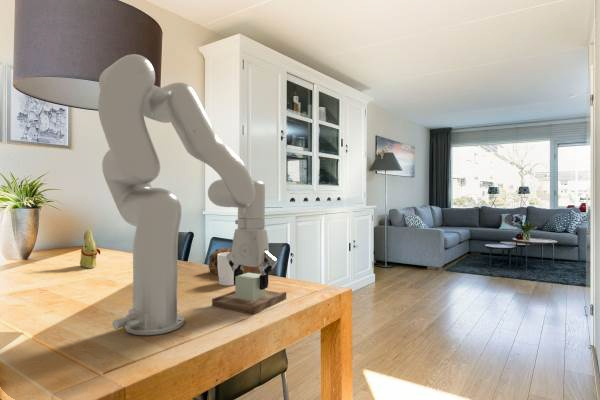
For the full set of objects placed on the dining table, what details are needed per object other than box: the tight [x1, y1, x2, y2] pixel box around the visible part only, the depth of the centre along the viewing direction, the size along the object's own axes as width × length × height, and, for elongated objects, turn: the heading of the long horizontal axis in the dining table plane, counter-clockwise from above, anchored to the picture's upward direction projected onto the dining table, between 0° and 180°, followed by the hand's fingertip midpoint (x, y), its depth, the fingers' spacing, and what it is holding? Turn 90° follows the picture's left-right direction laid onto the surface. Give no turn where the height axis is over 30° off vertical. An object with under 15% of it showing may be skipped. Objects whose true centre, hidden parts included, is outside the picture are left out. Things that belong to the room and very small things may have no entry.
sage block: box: [234, 273, 266, 301], centre depth 104 cm, size 6×6×6 cm
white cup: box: [217, 252, 235, 287], centre depth 126 cm, size 8×8×10 cm
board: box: [211, 289, 287, 315], centre depth 104 cm, size 16×14×2 cm
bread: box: [208, 247, 261, 275], centre depth 140 cm, size 19×11×10 cm, turn 54°
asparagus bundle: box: [79, 229, 101, 270], centre depth 150 cm, size 7×11×15 cm, turn 45°
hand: (250, 286), depth 104 cm, fingers open, 8 cm apart
